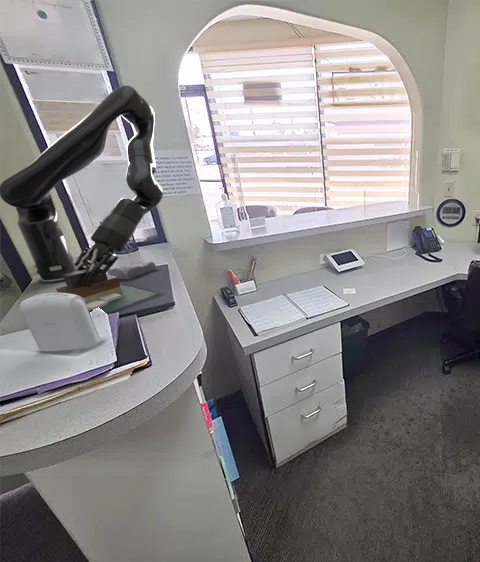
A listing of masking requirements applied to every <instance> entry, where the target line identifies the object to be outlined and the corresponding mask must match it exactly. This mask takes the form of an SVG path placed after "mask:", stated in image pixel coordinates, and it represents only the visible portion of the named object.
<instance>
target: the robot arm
mask: <svg viewBox="0 0 480 562" xmlns="http://www.w3.org/2000/svg"><path fill="white" fill-rule="evenodd" d="M120 116H121V117H122V118H123V119H124V120H126V121H127V122H128V123H129V124H130V125H131V127H132V130H133V133H134V135H133V136H132V137H131V138H130V139H129V140H128V143H127V145H126V156H127V162H128V166H127V170H126V174H125V180H126V184H127V186H128V188H129V189H130V191H132V193H134V194H135V197H133V198H131V199H130V198H128V197H126V198H125V197H122V198H120V199H119V200H118V201H117V202H116V204H115V205H114V206H113V208H112V209H111V211H110V212H109V213H108V214H107V215H106V216H105V217H104V219H103V220H102V221H101V222H100V224H99V225H98V226H97V228H96V230H95V231H94V232H93V233H92V235H91V236H90V240H91V241H92V242H94V244H93V245H92V246H91V247H90V248H88V247H84V248H82V250H81V252H80V254H79V256H78V257H77V259H76V261H74V259H73V256H72V253H71V251H70V248H69V245H68V243H67V240H66V237H65V235H64V232H63V230H62V227H61V225H60V221H59V214H58V209H57V208H56V204H55V202H54V198H53V196H52V193H51V191H52V190H53V189H54V188H55V187H56V186H57V185H58V184H60V183H61V182H62V181H64V180H65V179H67V178H70V177H71V176H73V175H75V174H77V173H78V172H80V171H82V170H83V169H86V167H88V166H89V165H90V164H92V163H93V162H94V161H96V160H97V159H98V158H99V157H101V155H103V153H104V151H105V149H106V145H107V140H108V134H109V129H110V127H111V126H112V124H114V122H115V121H116V120H117V119H118V118H119V117H120ZM155 119H156V116H155V111H154V109H153V106H151V104H150V103H149V102H147V100H146V99H145V98H144V97H143V96H142V95H141V94H140V93H139V92H138V91H137V89H135V88H134V87H133V86H130V85H121V86H118V87H117V88H115V89H114V90H112V91H111V92H110V93H109V94H108V95H107V96H106V97H105V98H104V99H103V100H102V101H101V102H100V103H99V104H98V105H97V106H96V107H95V108H94V109H93V110H92V111H91V112H89V114H88V115H86V116H85V117H84V118H83V119H82V120H80V121H79V122H78V123H77V124H76V125H74V126H73V127H71V128H70V129H69V130H68V131H66V132H65V133H64V134H62V135H61V136H60V137H58V138H57V139H56V140H55V141H54V142H53V143H52V144H51V145H49V146H48V147H47V148H46V149H45V150H44V151H43V152H42V153H41V154H40V155H39V156H38V157H37V158H36V159H35V160H34V161H33V162H32V163H29V165H27V166H25V167H24V168H22V169H21V170H19V171H18V172H16V173H15V174H13V175H11V176H9V177H7V178H5V179H4V180H2V182H0V199H1V200H2V201H3V202H5V204H7V205H9V206H10V207H13V208H15V210H16V213H17V217H18V218H17V226H18V227H17V228H18V229H19V231H20V233H21V235H22V238H23V240H24V242H25V244H26V247H27V249H28V252H29V254H30V256H31V258H32V260H33V263H34V265H35V268H36V269H37V270H36V273H38V275H39V277H40V280H41V282H42V283H57V282H61V281H65V280H64V277H63V274H67V273H71V272H75V271H79V270H83V269H87V268H90V269H89V272H87V274H86V275H85V276H84V278H83V279H82V281H81V282H80V284H81V285H84V286H87V287H90V286H91V285H92V283H93V282H94V281H95V279H96V278H97V276H98V275H101V274H105V273H106V274H107V273H108V270H110V269H111V268H112V266H114V264H115V263H116V262H117V261H118V259H119V258H120V257H119V256H118V255H117V254H115V252H118V253H121V252H122V251H123V250H124V249H125V247H126V245H127V244H128V242H129V241H130V240H131V238H132V236H133V235H134V233H135V231H136V229H137V227H138V226H139V224H140V223H141V221H142V219H143V218H144V216H145V215H146V214H147V213H149V212H150V211H152V210H153V209H154V208H155V207H157V206H158V204H160V203H161V201H162V199H163V197H164V190H163V187H162V186H161V185H160V184H159V183H158V181H156V179H155V178H154V175H155V173H156V172H157V164H156V157H155V152H154V135H155V121H156V120H155ZM95 266H96V267H95ZM103 268H104V269H103Z"/></svg>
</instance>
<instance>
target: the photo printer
mask: <svg viewBox="0 0 480 562" xmlns="http://www.w3.org/2000/svg"><path fill="white" fill-rule="evenodd" d="M19 311H20V314H21V315H22V318H23V320H24V322H25V324H26V326H27V328H28V330H29V332H30V333H31V336H32V338H33V341H34V342H35V343H36V346H37V347H38V349H39V351H40V352H57V351H60V352H61V351H72V350H84V349H89V348H90V347H93V346H95V345H97V344H98V343H99V342H100V340H101V337H100V334H99V332H98V330H97V327H96V325H95V322H94V320H93V317H92V318H91V315H90V313H89V310H88V308H87V306H86V303H85V301H84V299H83V298H82V297H80V296H78V295H74V294H68V293H58V292H45V293H39V294H35V295H32V296H30V297H28V298H26V299H24V300H22V301H21V302H20V304H19ZM98 337H99V338H98Z"/></svg>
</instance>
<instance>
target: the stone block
mask: <svg viewBox="0 0 480 562" xmlns="http://www.w3.org/2000/svg"><path fill="white" fill-rule="evenodd" d="M154 268H155V269H154ZM156 268H157V265H156V263H155V262H154V261H148V260H138V261H135V262H131V263H128V264H125V265H122V266H118V267H114V268H110V269H109V270H108V271H107V275H111V276H115V277H118V280H130V279H133V278H136V277H138V276H142V275H144V274H147V273H149V272H154V271H156V270H157V269H156Z"/></svg>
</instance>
